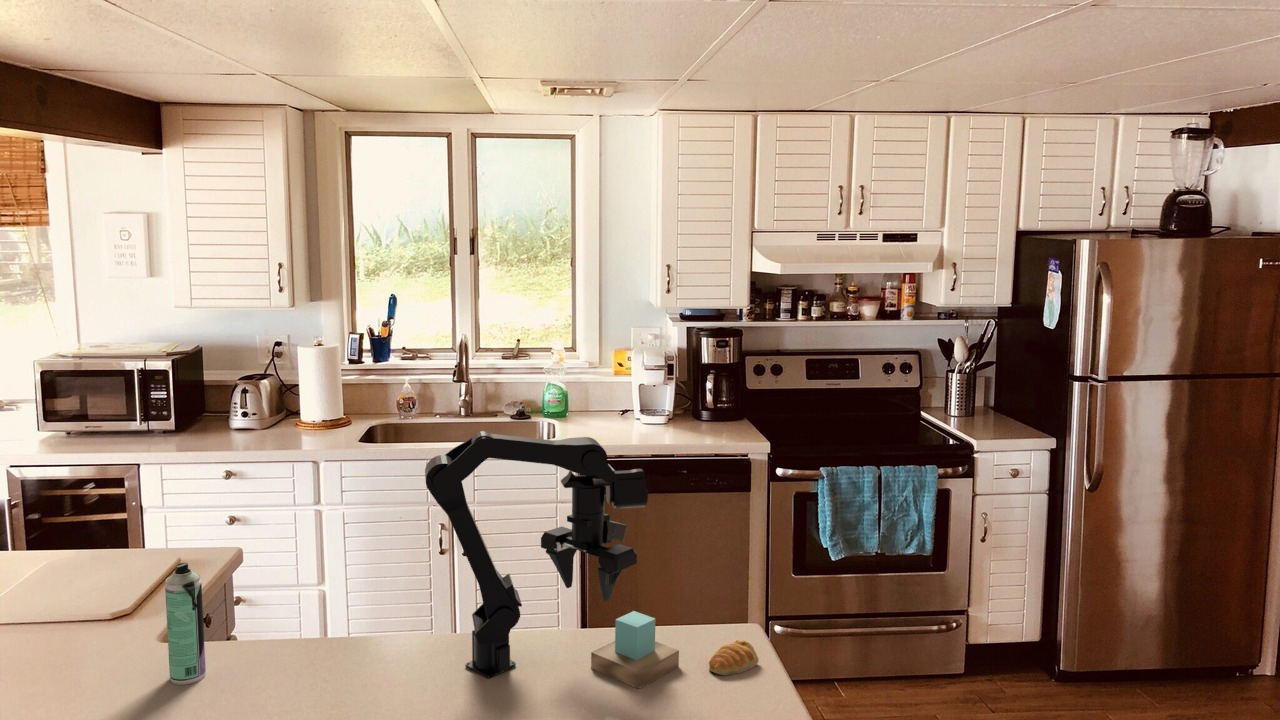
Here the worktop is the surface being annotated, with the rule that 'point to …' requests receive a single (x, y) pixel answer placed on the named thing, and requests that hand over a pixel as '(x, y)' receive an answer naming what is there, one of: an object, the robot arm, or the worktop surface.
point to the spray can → (185, 626)
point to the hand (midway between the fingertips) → (587, 594)
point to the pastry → (733, 658)
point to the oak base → (635, 664)
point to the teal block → (635, 635)
